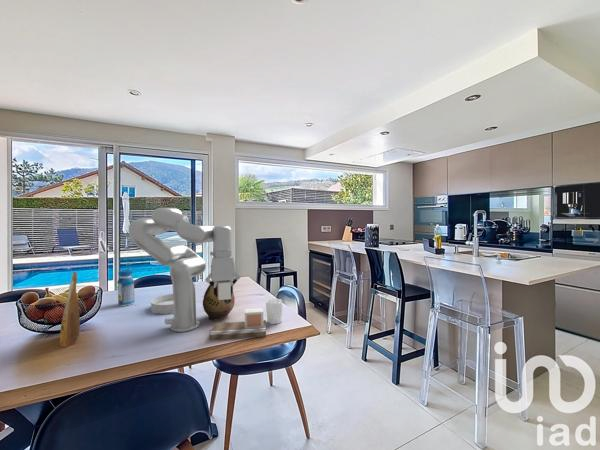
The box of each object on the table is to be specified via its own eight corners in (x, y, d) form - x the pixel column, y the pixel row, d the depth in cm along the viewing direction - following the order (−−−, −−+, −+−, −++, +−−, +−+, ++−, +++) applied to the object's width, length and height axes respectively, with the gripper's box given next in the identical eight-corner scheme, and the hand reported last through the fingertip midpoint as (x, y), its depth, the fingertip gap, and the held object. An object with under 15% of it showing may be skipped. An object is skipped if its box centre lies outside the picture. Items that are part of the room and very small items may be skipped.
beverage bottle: (129, 306, 165) (127, 271, 164) (114, 306, 165) (113, 271, 164) (137, 301, 173) (136, 268, 173) (124, 301, 174) (122, 268, 173)
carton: (244, 328, 125) (244, 313, 125) (245, 324, 131) (245, 309, 130) (263, 327, 126) (263, 312, 126) (263, 323, 132) (263, 308, 131)
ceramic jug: (226, 324, 136) (225, 261, 135) (197, 322, 140) (195, 260, 138) (241, 311, 153) (239, 255, 152) (214, 310, 156) (212, 255, 155)
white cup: (284, 319, 141) (284, 299, 141) (279, 325, 134) (279, 304, 133) (269, 318, 144) (269, 298, 143) (263, 323, 136) (263, 303, 135)
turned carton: (216, 295, 129) (216, 279, 129) (228, 294, 131) (228, 278, 131) (218, 300, 122) (217, 283, 121) (230, 298, 124) (230, 282, 123)
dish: (200, 301, 173) (200, 293, 172) (181, 314, 151) (181, 305, 150) (165, 301, 175) (164, 293, 175) (141, 314, 153) (141, 304, 153)
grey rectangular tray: (209, 340, 119) (209, 332, 119) (215, 327, 132) (215, 320, 132) (265, 336, 122) (265, 329, 122) (265, 324, 135) (265, 317, 135)
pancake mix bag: (85, 330, 132) (82, 269, 130) (78, 346, 115) (75, 277, 114) (66, 333, 128) (63, 271, 127) (57, 351, 112) (53, 279, 111)
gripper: (202, 256, 119) (203, 300, 120) (243, 254, 125) (244, 295, 126) (201, 254, 126) (202, 295, 127) (240, 251, 132) (241, 291, 133)
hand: (223, 294), depth 126 cm, fingers closed on turned carton, 5 cm apart
